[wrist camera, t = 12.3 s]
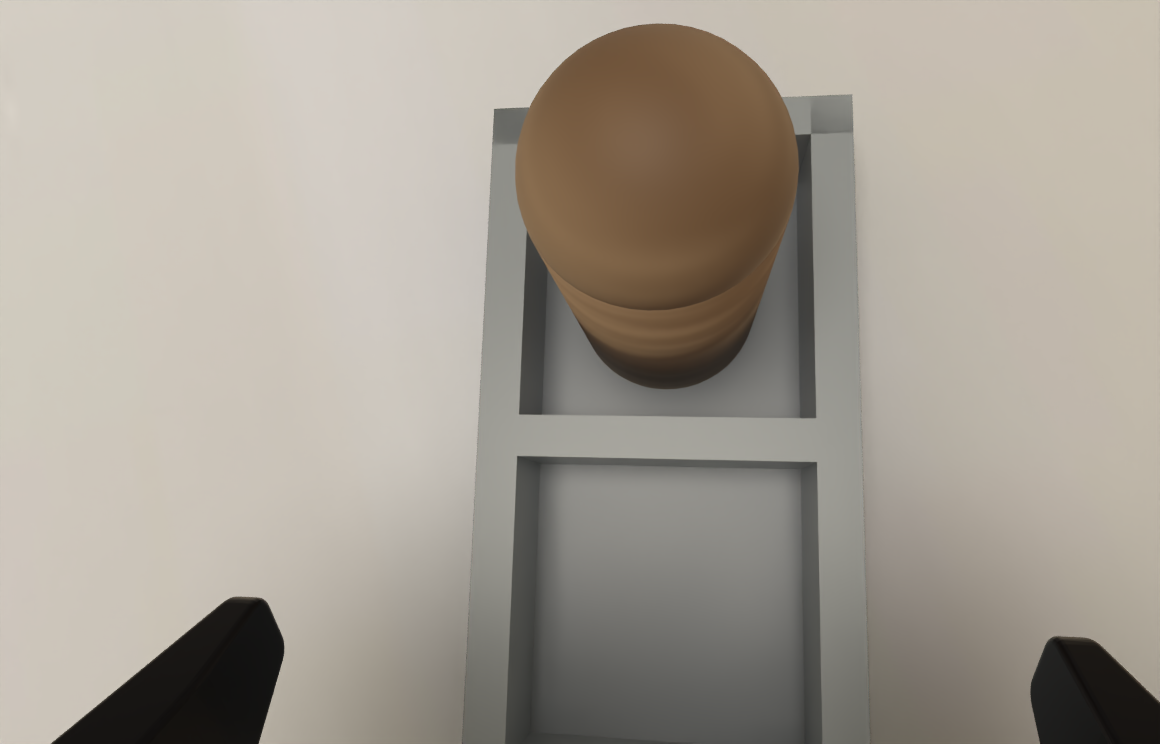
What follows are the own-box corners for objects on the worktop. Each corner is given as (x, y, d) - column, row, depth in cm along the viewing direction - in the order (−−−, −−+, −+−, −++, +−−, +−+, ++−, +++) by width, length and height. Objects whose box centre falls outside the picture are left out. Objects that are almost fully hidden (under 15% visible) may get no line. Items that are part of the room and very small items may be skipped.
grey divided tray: (844, 790, 21) (873, 844, 17) (495, 764, 22) (458, 810, 19) (829, 155, 24) (852, 94, 20) (522, 164, 25) (494, 109, 21)
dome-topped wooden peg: (645, 423, 22) (604, 335, 11) (549, 286, 23) (425, 81, 12) (790, 323, 22) (891, 136, 11) (687, 189, 23) (688, -103, 12)
